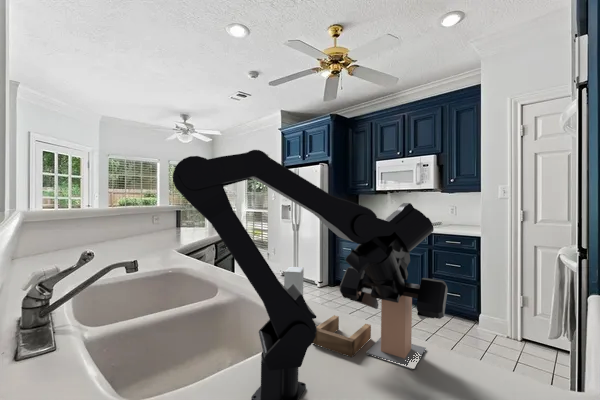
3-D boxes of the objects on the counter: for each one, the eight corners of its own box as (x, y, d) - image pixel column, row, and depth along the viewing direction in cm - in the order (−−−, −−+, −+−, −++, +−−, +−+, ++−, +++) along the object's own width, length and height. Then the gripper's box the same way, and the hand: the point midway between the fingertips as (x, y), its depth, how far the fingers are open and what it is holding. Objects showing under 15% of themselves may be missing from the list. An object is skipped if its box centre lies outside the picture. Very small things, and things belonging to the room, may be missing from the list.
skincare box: (299, 320, 73) (300, 272, 74) (283, 319, 74) (283, 271, 74) (303, 311, 79) (304, 267, 80) (287, 310, 80) (288, 266, 80)
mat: (414, 370, 52) (414, 367, 52) (366, 354, 57) (366, 352, 57) (425, 349, 60) (425, 347, 60) (382, 337, 65) (382, 335, 65)
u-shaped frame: (351, 357, 56) (352, 341, 56) (312, 343, 62) (312, 329, 62) (370, 338, 64) (370, 324, 64) (334, 328, 69) (334, 315, 69)
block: (404, 358, 55) (405, 294, 55) (380, 351, 58) (381, 290, 58) (411, 348, 59) (412, 288, 59) (388, 342, 62) (389, 284, 62)
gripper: (446, 235, 50) (455, 285, 59) (346, 227, 61) (366, 271, 70) (436, 292, 44) (448, 339, 53) (327, 273, 54) (352, 315, 63)
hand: (399, 311), depth 60 cm, fingers open, 9 cm apart
